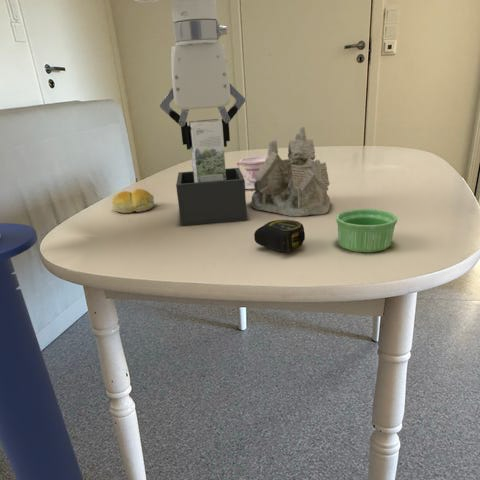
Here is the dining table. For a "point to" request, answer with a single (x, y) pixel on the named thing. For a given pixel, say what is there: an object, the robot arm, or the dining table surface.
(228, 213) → the bin
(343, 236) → the ramekin
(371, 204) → the dining table surface
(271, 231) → the tape measure
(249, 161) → the pink white round vessel
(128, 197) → the bread roll
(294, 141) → the ceramic cottage
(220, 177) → the syrup box
